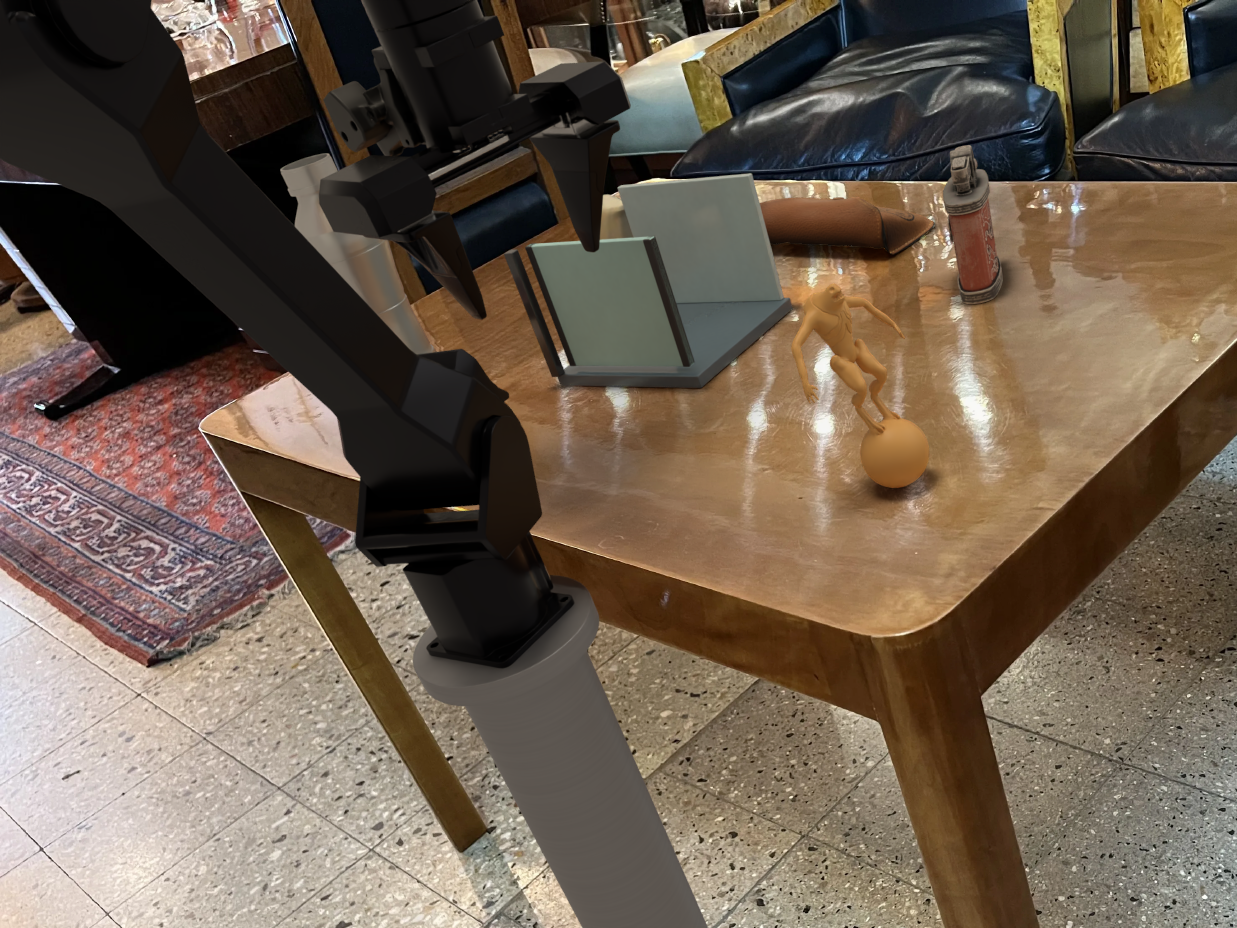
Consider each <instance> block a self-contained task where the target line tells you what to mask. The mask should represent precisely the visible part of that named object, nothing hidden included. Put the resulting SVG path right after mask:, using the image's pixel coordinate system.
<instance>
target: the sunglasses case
mask: <svg viewBox="0 0 1237 928" xmlns="http://www.w3.org/2000/svg"><path fill="white" fill-rule="evenodd" d="M759 203H760V207H761V211H762V214H763V218H764V222H765V226H766V230H767V234H768V238H769V241H770V245H774V246H777V245H782V244H790V245H800V246H801V245H802V246H804V245H805V246H819V245H820V246H821V245H822V246H823V245H824V246H829V247H849V248H850V247H851V248H852V247H854V248H870V249H876V250H880V249H884V250H885V251H886V252H887V253H889V254H891V255H893V256H894V255H897V254H898V253H900V252H901V251H904V250H906V249H907V248H909V247H911V246H912V245H914V244H915V243H917V242H918V241H919V240H921V238H923V237H924V236H925V235H926V234H927V233H928V232H930V231H931V230H932V229H933V228H934V227H935V225H936V223H935V221H934V220H931V219H929V218H927V217H925V216H923V215H920V214H918V213H915V212H912V211H911V212H910V211H908V210H902V209H897V208H891V207H883V206H875V205H874V204H872V203H871V202H869V201H867V200H865V199H864V198H862V197H859V196H853V197H848V198H844V197H842V196H837V197H832V198H826V197H825V198H823V197H822V198H821V197H820V198H818V197H803V196H800V197H795V196H794V197H785V198H775V199H771V200H766V201H765V200H764V201H762V202H759Z"/></svg>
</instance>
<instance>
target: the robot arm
mask: <svg viewBox="0 0 1237 928" xmlns="http://www.w3.org/2000/svg"><path fill="white" fill-rule="evenodd" d="M360 1H361V3H362V6H363V8H364V10H365V13H366V15H367V17H368V20H369V22H370V23H371V26H372V29H373V30H374V33H375V35H376V37H377V39H378V41H379V44H380V46H378V47H376V48H374V49H372V50H371V53H372V55H373V64H374V66H375V68H376V70H377V72H378V74H379V79H380V83H378V84H377V85H375V86H373V87H370V88H369V89H367V90H366V88H365V87H363V86H362V85H361V84H360V83H359V82H358V81H356V80H353V81H351V82H348V83H345V84H344V85H342V86H339V87H337V88H334V89H332V90H331V91H329V92H328V93H327V94H326V95H325V96H324V98H323V99H322V100H323V101H322V102H323V103H324V105H325V108H326V110H327V112H328V115H329V117H330V119H331V122H332V124H333V126H334V128H335V130H336V132H337V133H338V135H339V136H340V138H341V140H342V141H343V142H344V144H345V145H346V147H347V148H348V149H349V150H351V151H352V152H353V153H358V152H360V151H362V150H365V149H367V148H369V147H371V146H372V145H375V144H376V145H377V146H378V148H379V149H380V151H381V152H382V154H383V155H376V154H375V155H374V154H370V155H368V156H366V157H364V158H362V159H360V160H358V161H356V162H354V163H352V164H350V165H347V166H345V167H343V168H341V169H339V170H337V172H335V173H333V174H331V175H329V176H327V177H325V178H322V179H320V188H319V204H320V206H321V208H322V210H323V212H324V214H325V216H326V218H327V220H328V222H329V224H330V226H331V228H332V230H333V232H339V233H347V234H355V235H363V236H364V237H366V238H374V239H382V240H388V241H389V242H393V243H394V244H397V245H398V246H399V247H401V248H402V249H403V250H404V251H405V252H407V253H408V254H409V255H410V256H412V257H413V259H415V260H416V261H418V263H419V264H421V265H422V266H423V267H424V268H425V269H426V270H427V271H428V272H429V273H430V274H431V275H432V276H433V277H434V279H435V280H436V281H437V282H438V283H439V284H440V285H441V286H442V287H443V288H444V289H445V290H446V291H447V292H448V293H449V294H450V295H451V296H452V298H454V300H456V302H457V303H458V304H459V305H460V306H461V307H462V308H463V309H464V310H465V311H466V312H467V313H468V314H469V315H470V316H471V317H472V318H473V319H475V320H480V321H482V320H484V319H486V318H487V317H488V315H487V314H488V313H487V309H486V305H485V302H484V297H483V294H482V292H481V289H480V286H479V284H478V281H477V279H476V276H475V274H474V271H473V268H472V266H471V263H470V261H469V258H468V255H467V253H466V250H465V248H464V245H463V243H462V240H461V237H460V234H459V232H458V230H457V227H456V223H455V222H454V219H453V216H452V214H451V213H450V211H441V210H434V206H435V203H436V198H437V194H438V193H437V191H436V188H435V187H436V186H439V185H441V184H443V183H445V182H446V181H449V180H451V179H452V178H454V177H456V176H458V175H460V174H462V173H465V172H466V171H468V170H470V169H472V168H474V167H476V166H477V165H479V164H481V163H483V162H485V161H488V160H489V159H491V158H493V157H495V156H497V155H499V154H501V153H503V152H505V151H507V150H509V149H511V148H512V147H514V146H517V145H518V144H520V143H522V142H524V141H526V140H528V139H529V140H530V142H531V144H532V145H534V147H535V148H536V149H537V151H538V152H539V153H540V155H542V157H543V158H544V159H545V160H546V162H547V163H548V164H549V166H550V168H551V170H552V173H553V175H554V178H555V179H554V180H555V181H556V183H557V184H556V185H557V187H558V189H559V192H560V194H561V197H562V200H563V203H564V205H565V208H566V211H567V214H568V216H569V220H570V221H571V224H572V227H573V229H574V232H575V234H576V236H577V238H578V241H580V242H581V244H582V246H583V248H584V249H585V251H587V252H596V251H598V250H599V244H600V231H601V218H602V205H603V195H605V194H604V192H605V181H606V175H607V169H608V163H609V158H610V152H611V146H612V145H611V144H612V141H613V136H614V135H615V134H616V133H619V131H620V130H621V125H620V122H619V120H617V119H613V118H615V117H618V116H619V115H620V114H623V113H624V112H626V111H628V110H630V109H631V101H630V98H629V95H628V91H627V90H626V86H625V83H624V80H623V78H622V76H621V75H620V74H619V73H618V72H617V71H616V70H615V69H614V68H613V67H612V66H611V65H609V63H607V62H606V61H587V62H585V61H584V62H564V63H559V64H557V65H554V66H552V67H550V68H549V69H546V70H544V71H542V72H540V73H538V74H536V75H534V76H532V77H530V78H528V79H526V80H524V81H521V82H519V87H518V92H517V93H514V91H513V89H512V86H511V83H510V81H509V78H508V76H507V73H506V70H505V68H504V66H503V63H502V60H501V59H500V56H499V52H498V50H497V48H496V44H495V42H494V41H496V40H498V39H499V38H502V37H504V36H505V32H504V30H503V27H502V24H501V22H500V20H499V17H498V15H490V16H484V13H483V11H482V9H481V7H480V4H479V2H478V0H360ZM152 2H153V1H152V0H0V160H1V161H3V162H5V163H6V164H8V165H10V166H13V167H15V168H18V169H20V170H23V171H25V172H27V173H30V174H32V175H35V176H37V177H39V178H42V179H45V180H47V181H49V182H52V183H54V184H57V185H59V186H62V187H64V188H67V189H69V190H72V191H74V192H76V193H79V194H82V195H83V196H86V197H89V198H91V199H94V200H95V201H97V202H99V203H100V204H102V205H103V206H105V207H106V208H108V210H110V211H112V212H113V213H114V214H115V215H116V216H117V217H118V218H119V219H120V220H121V221H122V222H123V223H125V224H126V225H127V226H128V227H129V228H130V229H131V230H132V231H134V233H136V235H138V236H139V237H140V238H141V239H142V240H143V241H145V242H146V243H147V244H148V245H149V246H150V247H151V248H152V249H153V250H154V251H155V252H156V253H158V254H159V255H160V256H161V257H162V258H163V259H165V261H166V262H168V264H170V265H171V267H173V268H174V269H175V270H176V271H177V272H178V273H180V275H181V276H183V277H184V278H185V279H186V280H187V281H188V282H189V283H191V285H193V287H195V288H196V289H197V290H198V291H199V292H200V293H201V294H203V296H205V297H206V299H208V300H209V301H210V302H211V303H213V305H214V306H216V308H218V309H219V310H220V311H221V312H222V313H223V314H224V315H225V316H226V317H228V319H230V320H231V321H232V322H233V323H234V324H235V325H236V326H238V327H239V328H240V330H242V331H243V332H244V333H245V334H246V335H248V337H250V338H251V339H252V340H253V341H254V342H255V343H256V344H257V345H258V346H259V347H260V348H261V349H262V350H264V351H265V352H266V353H267V354H268V355H269V356H270V357H271V358H273V360H275V361H276V362H277V363H278V364H279V365H280V366H281V367H282V368H283V369H284V370H286V371H287V372H288V373H289V374H290V375H291V376H292V377H293V378H294V379H296V380H297V381H298V382H299V383H300V385H302V386H303V387H304V388H306V390H308V391H309V393H311V394H312V395H313V396H314V397H315V398H316V399H317V400H319V401H320V402H321V403H322V404H323V405H324V406H325V407H326V408H327V409H328V410H329V411H331V413H333V415H334V417H336V420H337V421H336V422H337V426H338V433H339V437H340V443H341V448H342V454H343V455H342V456H343V457H344V458H345V460H346V461H347V463H348V464H349V466H351V468H352V469H353V470H354V471H355V473H356V474H357V475H358V476H359V486H358V487H359V488H358V498H357V499H358V501H357V511H356V525H355V526H356V527H355V538H354V545H355V547H356V549H357V550H358V551H359V552H360V553H361V554H362V555H363V556H364V557H365V558H366V559H367V560H369V562H371V564H373V565H374V566H375V567H377V568H382V567H387V566H389V565H390V566H391V565H392V566H393V565H405V566H404V567H403V568H402V572H403V574H404V576H405V578H406V580H407V582H408V584H409V585H410V588H411V589H412V591H413V593H414V594H415V597H416V599H417V600H418V602H419V604H420V607H421V608H422V610H423V612H424V614H425V616H426V618H427V619H428V621H429V623H430V626H431V625H432V627H433V629H434V631H435V633H436V635H437V637H436V638H435V639H434V640H433V641H432V642H431V643H429V644H428V645H427V647H426V649H427V651H428V653H429V655H431V656H435V657H440V658H446V659H451V660H457V661H462V662H468V663H473V664H479V665H484V666H490V667H495V668H507V667H509V666H511V665H512V664H513V663H514V662H515V661H516V660H517V659H518V658H519V657H520V656H521V655H522V654H524V653H525V652H526V651H527V650H528V649H529V648H530V647H531V646H532V645H533V644H534V643H535V642H536V641H537V640H538V639H539V638H540V637H541V636H542V635H543V634H544V633H545V632H546V631H547V630H548V629H549V628H550V627H552V626H553V625H554V624H555V623H556V622H557V621H558V620H559V619H560V618H561V617H562V616H563V615H564V614H565V613H566V612H567V611H568V610H569V609H570V608H571V607H572V606H573V605H574V603H575V602H574V600H573V597H572V596H571V595H568V594H561V593H553V592H551V590H552V589H553V588H554V587H553V583H552V580H551V578H550V576H549V575H550V574H549V572H548V569H547V567H546V565H545V563H544V559H543V558H542V555H541V553H540V551H539V549H538V547H537V544H536V542H535V540H534V537H533V535H532V533H531V530H532V529H533V527H535V525H536V524H537V523H538V521H539V520H540V519H541V518H542V516H543V510H542V509H543V508H542V505H541V498H540V494H539V489H538V484H537V478H536V474H535V468H534V462H533V459H532V458H533V457H532V452H531V447H530V442H529V438H528V436H527V433H526V431H525V429H524V427H523V425H522V423H521V421H520V419H519V418H518V417H517V415H516V413H515V412H514V410H513V409H512V408H511V406H509V405H508V404H507V403H506V401H508V400H509V399H510V393H509V391H507V390H505V389H503V388H500V387H499V386H498V385H497V384H495V383H494V381H492V379H490V376H489V375H487V373H486V371H485V370H484V368H483V367H482V366H481V364H480V362H479V361H478V360H477V358H476V357H475V356H473V355H471V354H470V353H469V352H468V351H466V350H465V349H463V348H457V349H449V350H440V351H439V350H438V351H437V352H431V353H424V354H415V353H414V352H413V351H412V350H410V349H409V348H408V347H407V346H406V345H405V344H404V343H403V342H402V340H401V339H400V338H399V337H398V336H397V335H396V334H395V333H394V332H393V331H392V330H391V329H390V328H389V327H388V326H387V324H386V323H385V322H384V321H383V320H382V319H381V318H380V317H379V316H378V315H377V314H376V313H375V312H374V311H373V310H372V308H371V307H370V306H369V305H368V304H367V303H366V302H365V301H364V300H363V299H362V298H361V297H360V296H359V295H358V293H357V292H356V291H355V290H354V289H353V288H352V287H351V286H350V285H349V284H348V283H347V282H346V281H345V280H344V279H343V277H342V276H341V275H340V274H339V273H338V272H337V271H336V270H335V269H334V268H333V267H332V266H331V265H330V264H329V262H328V261H327V260H326V259H325V258H324V257H323V256H322V255H321V254H320V253H319V252H318V251H317V250H316V249H315V248H314V246H313V245H312V244H311V243H310V242H309V241H308V240H307V239H306V238H305V237H304V236H303V235H302V234H301V233H300V232H299V230H298V229H297V228H296V227H295V224H293V223H292V222H291V220H289V219H288V217H287V216H285V214H284V213H283V212H282V211H281V209H279V208H278V207H277V205H276V204H274V203H273V201H272V200H271V199H270V198H269V197H268V196H267V195H266V193H264V192H263V190H261V188H259V187H258V185H256V183H255V182H254V181H253V180H252V179H251V178H250V177H249V176H248V175H247V174H246V172H244V170H243V169H242V168H241V167H240V166H239V165H238V164H237V163H236V162H235V161H234V160H233V158H232V157H231V156H230V155H228V154H227V152H226V151H225V150H224V149H223V148H222V147H221V146H220V145H219V144H218V142H216V141H215V139H214V138H213V137H212V136H211V135H210V134H209V133H208V132H207V131H206V129H205V127H204V126H203V125H202V124H201V121H200V116H199V114H198V113H199V112H198V109H197V103H196V100H195V97H194V92H193V88H192V83H191V80H190V75H189V71H188V68H187V64H186V59H185V56H184V53H183V51H182V50H181V47H180V46H179V45H178V43H177V42H176V41H175V39H174V38H173V36H172V35H171V34H170V32H169V31H168V30H167V28H166V27H165V25H164V24H163V23H162V21H161V20H160V19H159V17H158V16H157V14H156V13H155V12H154V10H153V9H152ZM500 132H502V133H500ZM495 135H496V136H495ZM490 137H491V139H490ZM420 145H425V147H426V148H425V149H423V150H421V151H419V152H417V153H415V154H413V155H411V156H404V155H403V156H402V154H403V153H404V150H405V149H407V148H416V147H418V146H420ZM463 150H465V151H464V152H463ZM455 153H459V155H455ZM474 506H478V509H468V510H466V509H465V510H455V511H454V510H453V511H439V512H428V513H425V510H433V509H446V508H461V507H474Z"/></svg>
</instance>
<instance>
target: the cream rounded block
mask: <svg viewBox="0 0 1237 928" xmlns="http://www.w3.org/2000/svg"><path fill="white" fill-rule="evenodd" d="M618 238H634V237H633V234H632V231H631V228H630V225H629V222H628V219H627V216H626V213H625V210H624V207H623V204H622V201H621V197H616V196H615V195H612V194H603V205H602V218H601V231H600V240H602V239H618Z"/></svg>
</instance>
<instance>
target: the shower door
mask: <svg viewBox="0 0 1237 928" xmlns="http://www.w3.org/2000/svg"><path fill="white" fill-rule="evenodd" d="M524 250H525V251H526V252H525V253H526V255H527V257H528V259H529V262H530V265H531V268H532V271H533V273H534V276H535V278H536V281H537V283H538V286H539V288H540V291H541V294H542V297H543V299H544V302H545V304H546V306H547V309H548V312H549V315H550V317H551V320H552V322H553V326H554V328H555V331H556V333H557V336H558V338H559V342H560V343H561V346H562V349H563V351H564V355H565V356H566V359H567V362H568V366H569V365H570V366H683V367H690V366H691V365H692V364H694V363H695V361H694V358H693V355H692V352H691V348H690V345H689V342H688V339H687V336H686V333H685V329H684V326H683V323H682V320H681V317H680V314H679V310H678V307H677V304H676V301H675V298H674V295H673V291H672V288H671V285H670V282H669V279H668V276H667V272H666V269H665V266H664V263H663V260H662V257H661V253H660V250H659V247H658V244H657V241H656V237H655V236H648V237H634V238H618V239H602V240H600V244H599V250H598V251H596V252H587V251H585V249H584V248H583V246H582V244H581V242H580V240H573V241H571V240H570V241H558V242H557V241H556V242H542V243H541V242H540V243H539V242H538V243H537V242H535V243H534V242H533V243H529V244H528V245H526V246H525V247H524Z"/></svg>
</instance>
